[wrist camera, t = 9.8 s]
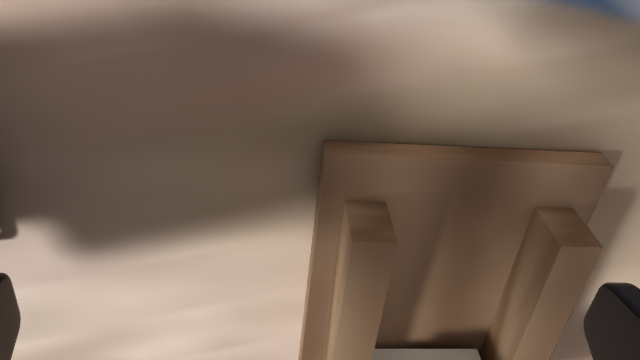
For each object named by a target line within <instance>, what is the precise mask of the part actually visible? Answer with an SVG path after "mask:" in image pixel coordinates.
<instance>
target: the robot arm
mask: <svg viewBox="0 0 640 360" xmlns="http://www.w3.org/2000/svg"><path fill="white" fill-rule="evenodd" d="M20 320H21V318H20V311H19V307H18V304H17V300H16V296H15V293H14V289H13V286H12V282H11V280H10V277H9V276H8V275H7V274H5V273H0V360H11V357H12V353H13V350H14V346H15V343H16V339H17V336H18V332H19V329H20ZM584 332H585V336H586V339H587V342H588V345H589V348H590V351H591V354H592V357H593V360H640V289H639V288H637V287H636V286H634V285H632V284H630V283H605V284H603V285H602V286H601V287H600V288H599V290H598V292H597V294H596V296H595V298H594V300H593V302H592V304H591V306H590V308H589V310H588V312H587V314H586V316H585V318H584Z"/></svg>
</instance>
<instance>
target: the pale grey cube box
mask: <svg viewBox="0 0 640 360" xmlns="http://www.w3.org/2000/svg"><path fill="white" fill-rule="evenodd" d="M372 360H481V358H480V355H479V353H478V350H477V349H374V353H373V357H372Z"/></svg>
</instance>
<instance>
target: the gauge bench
mask: <svg viewBox="0 0 640 360" xmlns="http://www.w3.org/2000/svg"><path fill="white" fill-rule="evenodd" d="M612 168H613V165H612V164H611V163H610V162H609V161H608V160H607V159H606V158H605V157H604V156H603V155H602V154H601V153H594V152H572V151H550V150H528V149H505V148H483V147H461V146H439V145H417V144H395V143H373V142H350V141H328V140H324V143H323V152H322V160H321V169H320V178H319V187H318V195H317V204H316V213H315V221H314V230H313V239H312V248H311V256H310V265H309V274H308V282H307V291H306V300H305V309H304V317H303V326H302V335H301V343H300V352H299V360H372V357H373V353H374V349H477V350H478V353H479V355H480V358H481V360H549V358H550V356H551V354H552V352H553V350H554V348H555V346H556V344H557V342H558V340H559V337H560V335H561V333H562V331H563V329H564V327H565V325H566V323H567V321H568V319H569V317H570V315H571V313H572V311H573V309H574V307H575V304H576V302H577V300H578V298H579V296H580V294H581V292H582V290H583V288H584V286H585V284H586V282H587V280H588V278H589V276H590V273H591V271H592V269H593V267H594V265H595V263H596V261H597V259H598V257H599V255H600V253H601V251H602V249H603V247H602V245H601V244H600V243H599V242H598V240H597V239H596V238H595V236H594V235H593V234H592V232H591V231H590V230H589V228H588V227H587V224H588V222H589V219H590V217H591V215H592V213H593V211H594V208H595V206H596V204H597V202H598V199H599V197H600V195H601V193H602V191H603V188H604V186H605V184H606V182H607V180H608V177H609V175H610V173H611V171H612Z"/></svg>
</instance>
